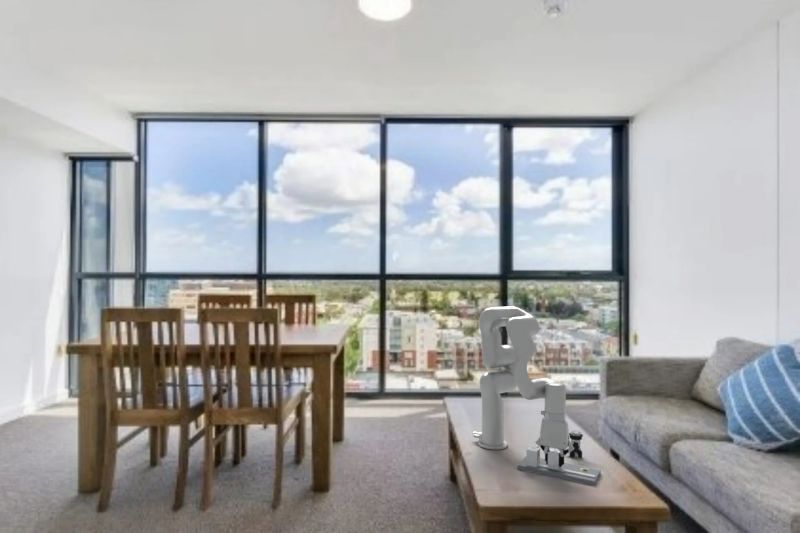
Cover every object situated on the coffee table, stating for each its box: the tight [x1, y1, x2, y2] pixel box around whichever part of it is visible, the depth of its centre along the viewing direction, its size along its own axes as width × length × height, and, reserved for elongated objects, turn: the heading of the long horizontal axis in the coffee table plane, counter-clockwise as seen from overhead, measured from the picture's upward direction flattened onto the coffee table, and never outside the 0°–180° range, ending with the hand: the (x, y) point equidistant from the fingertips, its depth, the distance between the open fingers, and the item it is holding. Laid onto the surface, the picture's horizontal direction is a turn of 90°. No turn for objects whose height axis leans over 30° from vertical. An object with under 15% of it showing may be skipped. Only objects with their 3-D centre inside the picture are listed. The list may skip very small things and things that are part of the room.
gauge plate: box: [517, 444, 602, 486], centre depth 195 cm, size 28×12×8 cm, turn 59°
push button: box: [565, 430, 584, 459], centre depth 211 cm, size 7×5×10 cm
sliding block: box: [548, 448, 561, 470], centre depth 195 cm, size 4×7×6 cm, turn 149°
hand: (554, 464), depth 194 cm, fingers closed on sliding block, 4 cm apart
